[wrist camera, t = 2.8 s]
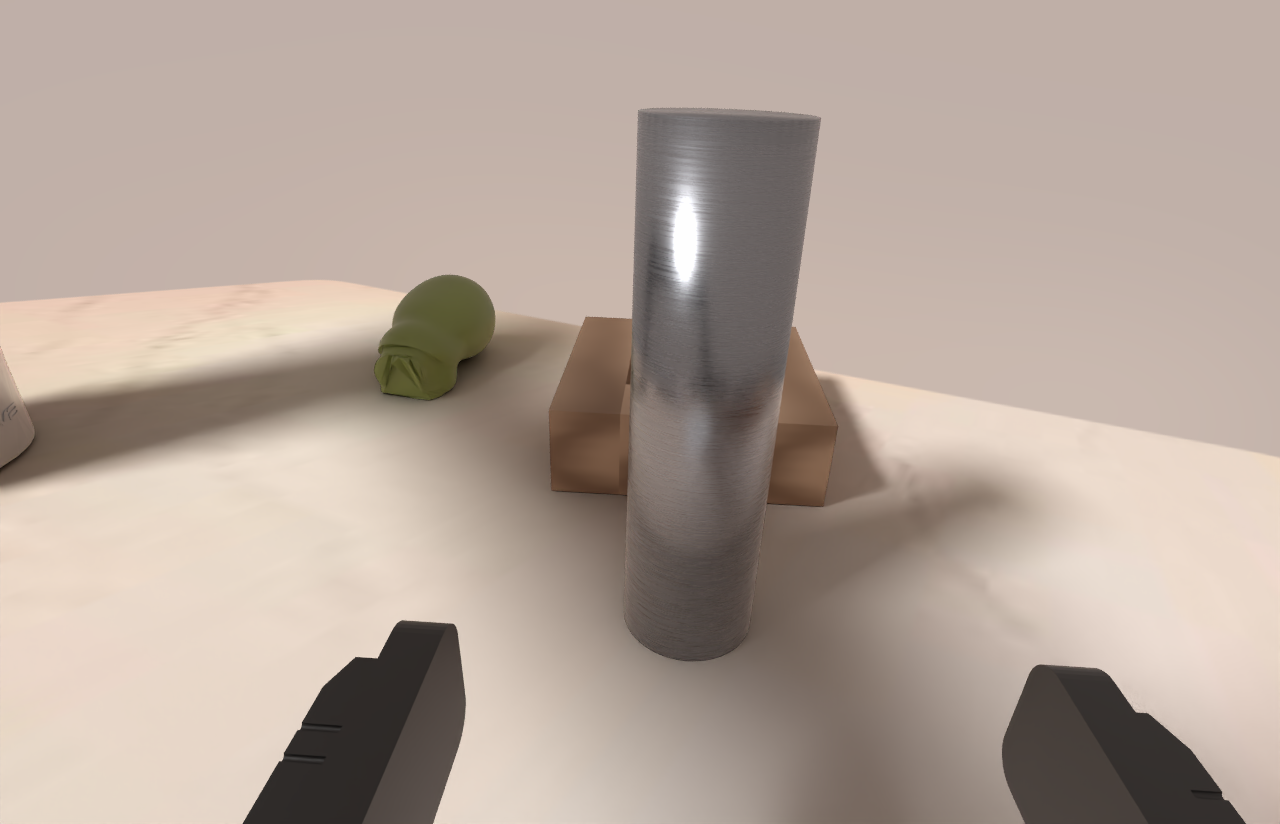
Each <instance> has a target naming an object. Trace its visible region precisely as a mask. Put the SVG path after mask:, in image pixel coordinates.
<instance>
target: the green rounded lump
mask: <svg viewBox="0 0 1280 824" xmlns="http://www.w3.org/2000/svg"><path fill="white" fill-rule="evenodd" d="M494 327H495V311H494V307H493V304H492V302H491V299H490V298H489V296H488V294H487V293H486V291H485V290H484V289H483V288H482V287H481V286H480V285H478V284H477V283H476V282H474V281H472V280H470V279H468V278H465V277H462V276H458V275H442V276H437V277H434V278H431V279H429V280H426V281H424V282H423V283H421V284H419V285H418V286H417V287H415V288H414V289H413V290H411V291H410V292H409V293H408V294H407V295H406V296H405V297H404V298H403V300H402V301H401V302H400V304H399V305H398V307H397V309H396V311H395V313H394V317H393V322H392V328H391V329H390V330H389V331H388V332H387V333H386V334H385V335H384V336H383V338H382V339H381V341H380V344H379V347H378V352H379V354H380V355H381V357H380V358H379V359H378V360H377V361H376V364H375V367H374V373H375V376H376V378H377V380H378V382H379V383H380V385H381V392H383V393H390V394H395V395H399V396H404V397H409V398H415V399H423V400H432V399H435V398H438V397H440V396H442V395H443V394H444V393H446V392H448V391H449V390H451V389H452V388H453V387H454V385H455V383H456V379H457V366H458V363H459V362H460V360H463V359H467V358H470V357H473V356H475V355H477V354H478V353H480V352H481V351H482V350H483V349H484V348H485V347H486V346H487V345H488V343H489V341H490V340H491V337H492V335H493V332H494Z"/></svg>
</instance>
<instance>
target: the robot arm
mask: <svg viewBox="0 0 1280 824" xmlns="http://www.w3.org/2000/svg"><path fill="white" fill-rule="evenodd" d="M34 437H35V428H34V426H33V423H32V421H31V419H30V416H29V414H28V412H27V409H26V407H25V405H24V402H23V400H22V398H21V395H20V393H19V391H18V388H17V386H16V383H15V381H14V379H13V376H12V374H11V372H10V369H9V367H8V365H7V362H6V360H5V358H4V354H3V352H2V349H1V347H0V467H2V466H4V465H5V464H7V463H8V462H10V461H11V460H13V459H14V458H16V457H17V456H19V455H20V454H21V453H22V452H23V451H24V450H25V449H26V448H27V447H28V446H29V445H30V444H31V442H32V440H33V438H34ZM465 708H466V698H465V689H464V681H463V673H462V664H461V656H460V648H459V640H458V633H457V629H456V626H455V625H454V624H448V623H433V622H418V621H403V620H402V621H400V622H398V623H397V624H396V626H395V627H394V629H393V630H392V632H391V634H390V636H389V638H388V640H387V642H386V643H385V645H384V647H383V649H382V651H381V653H380V655H379V657H378V659H377V658H362V657H355V658H354V659H353V660H352V661H351V662H350V663H349V664H348V665H346V666H345V667H344V668H343V669H342V670H341V671H340V672H339V673H338V674H336V675H335V676H334V677H333V678H332V679H331V680H330V681H329V682H328V683H327V684H325V685H324V686H323V688H322V689H321V691H320V693H319V694H318V696H317V698H316V700H315V701H314V703H313V705H312V706H311V708H310V710H309V711H308V713H307V715H306V717H305V718H304V720H303V722H302V727H301V729H300V730H297V732H296V734H295V735H294V737H293V739H292V740H291V742H290V744H289V746H288V747H287V749H286V751H285V752H284V758H283V760H282V762H281V761H279V763H278V764H277V766H276V768H275V769H274V771H273V773H272V775H271V776H270V778H269V780H268V781H267V783H266V785H265V786H264V788H263V790H262V792H261V793H260V795H259V797H258V798H257V800H256V802H255V803H254V805H253V807H252V809H251V810H250V812H249V814H248V815H247V817H246V819H245V821H244V822H243V824H433V822H434V819H435V816H436V813H437V810H438V807H439V804H440V801H441V798H442V795H443V792H444V789H445V786H446V783H447V780H448V777H449V774H450V771H451V768H452V765H453V762H454V759H455V756H456V753H457V750H458V747H459V744H460V740H461V736H462V731H463V726H464V719H465ZM1002 760H1003V768H1004V773H1005V777H1006V780H1007V784H1008V786H1009V789H1010V791H1011V793H1012V795H1013V798H1014V800H1015V802H1016V804H1017V806H1018V809H1019V811H1020V813H1021V815H1022V817H1023V820H1024V822H1025V824H1246V823H1245V822H1244V821H1243V819H1242V818H1241V816H1240V815H1239V814H1238V812H1237V811H1236V810H1235V808H1234V807H1233V806H1232V804H1231V803H1230V802H1229V801H1226V800H1224V799H1223V797H1222V791H1221V790H1220V788H1219V787H1218V786H1217V784H1216V783H1215V782H1214V780H1213V779H1212V778H1211V776H1210V775H1209V774H1208V772H1207V771H1206V770H1205V768H1204V767H1203V766H1202V764H1201V763H1200V762H1199V760H1198V759H1197V758H1196V756H1195V755H1194V754H1193V752H1192V751H1191V750H1190V749H1189V748H1188V747H1187V746H1186V745H1184V744H1183V743H1182V742H1181V741H1180V740H1179V739H1177V738H1176V737H1175V736H1174V735H1173V734H1172V733H1170V732H1169V731H1168V730H1167V729H1166V728H1165V727H1163V726H1162V725H1161V724H1160V723H1159V722H1158V721H1156V720H1155V719H1154V718H1153V717H1152V716H1151V715H1149V714H1148V713H1136V712H1135V711H1134V709H1133V708H1132V707H1131V705H1130V704H1129V702H1128V701H1127V700H1126V698H1125V697H1124V695H1123V694H1122V692H1121V691H1120V690H1119V688H1118V687H1117V685H1116V684H1115V682H1114V681H1113V680H1112V679H1111V677H1110V676H1109V675H1108V674H1106V673H1105V672H1104V671H1102V670H1100V669H1097V668H1084V667H1069V666H1054V665H1037V666H1035V667H1034V668H1033V669H1032V670H1031V672H1030V674H1029V676H1028V679H1027V681H1026V684H1025V686H1024V689H1023V691H1022V694H1021V696H1020V699H1019V701H1018V704H1017V706H1016V709H1015V711H1014V714H1013V716H1012V718H1011V721H1010V723H1009V726H1008V728H1007V731H1006V733H1005V736H1004V739H1003V745H1002Z"/></svg>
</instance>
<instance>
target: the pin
mask: <svg viewBox="0 0 1280 824" xmlns="http://www.w3.org/2000/svg"><path fill="white" fill-rule="evenodd" d="M820 122H821V118H820V117H817V116H811V115H803V114H794V113H785V112H772V111H771V112H770V111H756V110H755V111H754V110H737V109H712V108H711V109H710V108H650V109H641V110H638V133H637V169H636V204H635V205H636V206H635V241H634V275H633V310H632V311H633V312H632V346H631V382H630V417H629V453H628V488H627V524H626V559H625V595H624V616H625V621H626V624H627V626H628V628H629V630H630V632H631V633H632V634H633V636H634V637H635V638H636V639H637V640H638V641H639V642H640V643H641V644H643V645H644V646H645V647H647V648H648V649H650V650H652V651H653V652H656V653H658V654H660V655H663V656H666V657H669V658H673V659H677V660H685V661H701V660H708V659H713V658H716V657H719V656H722V655H724V654H726V653H728V652H730V651H731V650H733V649H735V648H736V647H737V646H738V645H739V644H740V643H741V642H742V641H743V639H744V638H745V636H746V634H747V632H748V629H749V625H750V618H751V611H752V604H753V597H754V590H755V583H756V576H757V569H758V562H759V554H760V547H761V540H762V533H763V526H764V519H765V512H766V505H767V498H768V491H769V484H770V476H771V469H772V462H773V455H774V448H775V441H776V434H777V427H778V420H779V413H780V405H781V398H782V391H783V384H784V377H785V370H786V363H787V356H788V349H789V342H790V335H791V327H792V320H793V313H794V306H795V299H796V292H797V284H798V278H799V270H800V264H801V256H802V248H803V242H804V234H805V228H806V221H807V214H808V207H809V200H810V193H811V186H812V178H813V171H814V164H815V157H816V150H817V142H818V136H819V129H820Z"/></svg>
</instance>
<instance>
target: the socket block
mask: <svg viewBox="0 0 1280 824" xmlns="http://www.w3.org/2000/svg"><path fill="white" fill-rule="evenodd" d="M631 346H632V319H623V318H603V317H586V318H585V320H584V323H583V325H582V328H581V330H580V333H579V335H578V338H577V340H576V343H575V345H574V348H573V350H572V353H571V355H570V358H569V361H568V363H567V366H566V368H565V371H564V373H563V376H562V378H561V381H560V383H559V386H558V388H557V391H556V393H555V396H554V399H553V401H552V404H551V406H550V409H549V431H550V461H551V490H553V491H570V492H586V493H603V494H620V495H627V488H628V453H629V417H630V382H631ZM837 429H838V425H837V423H836V420H835V418H834V416H833V413H832V411H831V409H830V406H829V404H828V402H827V399H826V397H825V395H824V392H823V390H822V388H821V385H820V383H819V381H818V378H817V376H816V374H815V372H814V369H813V367H812V365H811V363H810V360H809V358H808V355H807V353H806V351H805V348H804V346H803V344H802V341H801V339H800V337H799V335H798V332H797V330H796V327H791V335H790V342H789V349H788V356H787V363H786V370H785V377H784V384H783V391H782V398H781V405H780V413H779V420H778V427H777V434H776V441H775V448H774V455H773V462H772V469H771V476H770V484H769V491H768V498H767V503H771V504H788V505H805V506H822V507H823V504H824V499H825V493H826V488H827V483H828V477H829V472H830V467H831V461H832V456H833V450H834V445H835V440H836V434H837Z"/></svg>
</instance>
